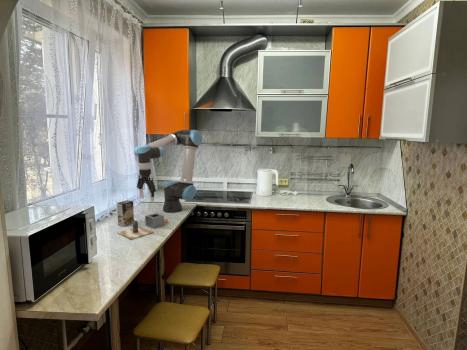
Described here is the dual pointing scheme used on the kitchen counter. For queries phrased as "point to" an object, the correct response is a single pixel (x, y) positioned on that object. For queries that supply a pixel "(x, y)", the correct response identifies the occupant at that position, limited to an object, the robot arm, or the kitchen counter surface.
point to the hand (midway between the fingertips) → (146, 200)
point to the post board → (136, 235)
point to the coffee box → (125, 213)
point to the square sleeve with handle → (155, 220)
